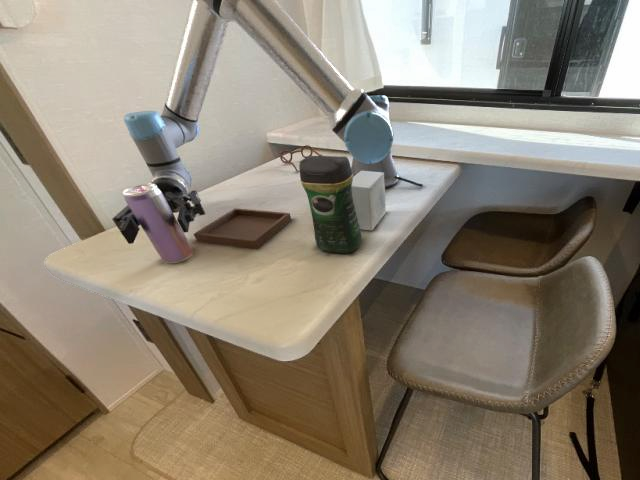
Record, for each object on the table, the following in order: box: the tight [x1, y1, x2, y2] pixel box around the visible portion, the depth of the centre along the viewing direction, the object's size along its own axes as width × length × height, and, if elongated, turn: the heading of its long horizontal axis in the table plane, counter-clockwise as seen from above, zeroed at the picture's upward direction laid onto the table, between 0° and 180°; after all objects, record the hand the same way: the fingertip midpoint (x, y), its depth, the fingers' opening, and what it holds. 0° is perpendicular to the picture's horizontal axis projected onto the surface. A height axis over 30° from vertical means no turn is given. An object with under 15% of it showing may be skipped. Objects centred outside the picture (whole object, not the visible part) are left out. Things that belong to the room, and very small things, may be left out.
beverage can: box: [122, 183, 194, 265], centre depth 64 cm, size 6×6×15 cm
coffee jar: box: [298, 155, 363, 254], centre depth 63 cm, size 10×8×19 cm
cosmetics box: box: [352, 171, 387, 231], centre depth 75 cm, size 10×6×10 cm, turn 163°
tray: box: [193, 207, 292, 250], centre depth 76 cm, size 17×15×2 cm
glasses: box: [279, 144, 324, 173], centre depth 116 cm, size 13×13×5 cm
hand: (155, 231), depth 60 cm, fingers open, 9 cm apart
